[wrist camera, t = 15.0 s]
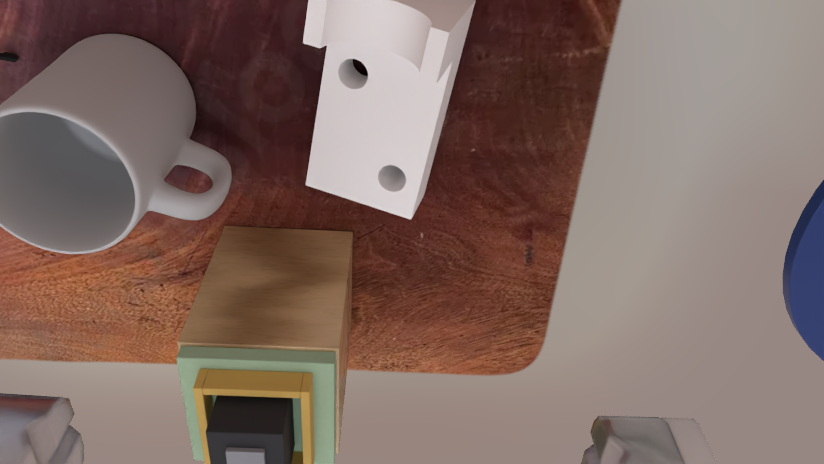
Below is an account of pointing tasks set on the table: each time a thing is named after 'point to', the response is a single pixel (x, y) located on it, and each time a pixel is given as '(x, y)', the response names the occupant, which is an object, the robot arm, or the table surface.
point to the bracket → (382, 95)
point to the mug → (101, 147)
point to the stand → (277, 295)
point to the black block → (251, 430)
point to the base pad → (263, 392)
